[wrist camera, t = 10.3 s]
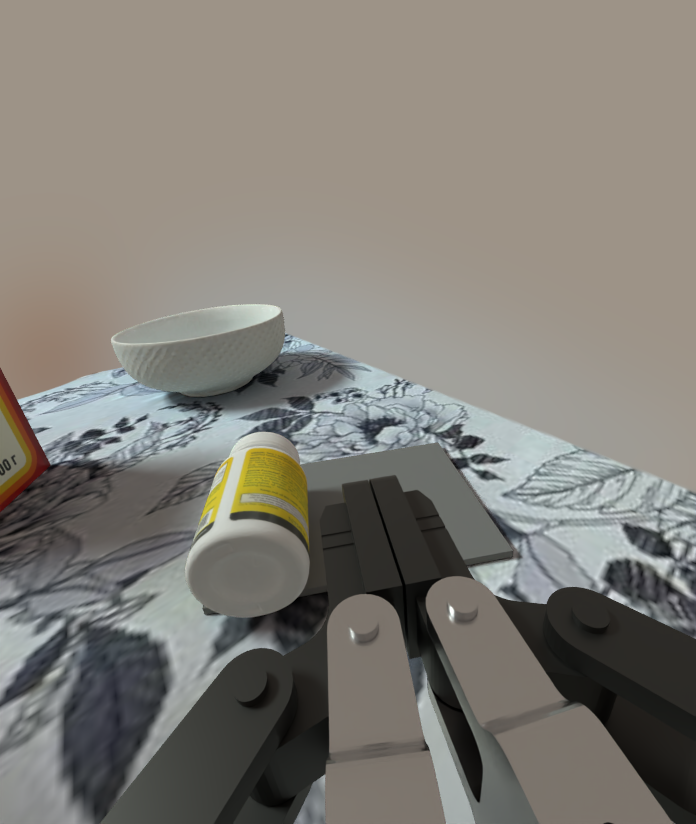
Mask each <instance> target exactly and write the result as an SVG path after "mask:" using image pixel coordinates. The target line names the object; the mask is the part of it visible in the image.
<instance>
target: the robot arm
mask: <svg viewBox="0 0 696 824" xmlns="http://www.w3.org/2000/svg"><path fill="white" fill-rule="evenodd" d="M342 492H343V499H344V503H339V504H333V505H328V506H325V509H324V511H323V513H322V516H321V518H320V529H321V537H322V546H323V555H324V564H325V573H326V582H327V590H328V599H329V610H328V615H327V618H326V621H325V623H324V625H323V626H322V628H321V629H320V631H319V632H318V633H317V634H316V635H315V636H314V637H313V638H312V639H311V640H310V641H308V642H307V643H305V644H304V645H302V646H300V647H298V648H297V649H295V650H293V651H291V652H289V653H288V654H286V655H284V656H283V655H281V654H280V653H279V652H277V651H274V650H272V649H267V648H258V649H253V650H249V651H246V652H244V653H242V654H240V655H239V656H237V657H236V658H234V659H233V660H232V661H231V662H230V663H228V664H227V665H226V667H225V668H224V669H223V670H222V671H221V672H220V674H219V675H218V676H217V677H216V679H215V680H214V681H213V682H212V684H211V685H210V686H209V687H208V689H207V690H206V691H205V692H204V694H203V695H202V696H201V697H200V699H199V700H198V701H197V702H196V704H195V705H194V706H193V707H192V709H191V710H190V711H189V712H188V714H187V715H186V716H185V717H184V719H183V720H182V721H181V722H180V724H179V725H178V726H177V727H176V729H175V730H174V731H173V733H172V734H171V735H170V736H169V738H168V739H167V740H166V741H165V743H164V744H163V745H162V746H161V748H160V749H159V750H158V751H157V753H156V754H155V755H154V756H153V758H152V759H151V760H150V761H149V763H148V764H147V765H146V766H145V768H144V769H143V770H142V771H141V773H140V774H139V775H138V776H137V778H136V779H135V780H134V781H133V783H132V784H131V785H130V786H129V788H128V789H127V790H126V791H125V793H124V794H123V795H122V796H121V798H120V799H119V800H118V801H117V803H116V804H115V805H114V806H113V808H112V809H111V810H110V811H109V813H108V814H107V815H106V816H105V818H104V819H103V820H102V821H101V823H100V824H293V823H294V821H295V819H296V817H297V815H298V813H299V811H300V809H301V807H302V805H303V803H304V801H305V799H306V797H307V795H308V793H309V791H310V788H311V786H312V783H313V782H314V781H316V780H317V779H319V778H320V777H321V776H323V775H324V774H326V775H325V810H326V824H446V821H445V816H444V812H443V807H442V802H441V797H440V793H439V788H438V783H437V779H436V774H435V770H434V765H433V761H432V757H431V754H430V750H429V747H428V745H427V744H426V742H425V739H424V735H423V731H422V726H421V722H420V717H419V712H418V707H417V702H416V697H415V692H414V687H413V683H412V678H411V673H410V668H409V663H408V658H407V653H406V648H407V652H408V655H409V659H412V658H417V657H422V661H423V664H424V667H425V670H426V673H427V687H428V694H429V697H430V700H431V703H432V705H433V708H434V711H435V713H436V716H437V719H438V721H439V724H440V726H441V729H442V732H443V734H444V737H445V740H446V742H447V745H448V748H449V750H450V753H451V756H452V758H453V761H454V763H455V766H456V769H457V771H458V774H459V777H460V779H461V782H462V785H463V787H464V790H465V792H466V795H467V798H468V800H469V803H470V806H471V809H472V813H473V816H474V820H475V824H673V823H672V821H673V822H674V823H675V824H696V639H694V638H692V637H690V636H688V635H686V634H684V633H682V632H680V631H678V630H675V629H673V628H671V627H669V626H667V625H665V624H663V623H661V622H659V621H656V620H654V619H652V618H650V617H648V616H646V615H644V614H642V613H640V612H638V611H635V610H633V609H631V608H629V607H627V606H625V605H623V604H621V603H619V602H616V601H614V600H612V599H610V598H608V597H606V596H604V595H602V594H600V593H597V592H595V591H592V590H589V589H585V588H579V587H567V588H562V589H559V590H557V591H555V592H554V593H553V594H552V595H551V596H550V597H549V599H548V601H547V604H537V603H528V602H518V601H511V600H507V599H503V598H500V597H498V596H495V595H494V594H493V593H492V592H491V591H490V590H489V589H488V588H487V587H486V586H484V585H483V584H482V583H480V582H478V581H476V580H475V579H474V578H473V576H472V575H471V573H470V571H469V570H468V568H467V566H466V564H465V562H464V560H463V558H462V556H461V555H460V553H459V551H458V549H457V547H456V545H455V543H454V541H453V540H452V538H451V536H450V534H449V532H448V530H447V529H446V528H445V525H444V523H443V521H442V519H441V517H439V513H438V512H437V510H436V508H435V506H434V504H433V502H432V500H430V499H429V498H428V497H427V496H425V495H424V494H423V493H421V492H420V491H419V490H413V491H407V492H403V490H402V487H401V485H400V483H399V481H398V478H397V476H396V475H390V476H384V477H379V478H373V479H369V481H368V480H361V481H356V482H350V483H344V484H342Z"/></svg>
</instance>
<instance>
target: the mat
mask: <svg viewBox="0 0 696 824" xmlns="http://www.w3.org/2000/svg"><path fill="white" fill-rule="evenodd" d="M301 467H302V468H303V470H304V473H305V476H306V480H307V493H308V525H309V556H310V566H309V576H308V580H307V583H306V585H305V587H304V589H303V591H302V592H301V594H300V595H299V596H298V597H301V596H307V595H312V594H317V593H323V592H328V590H327V582H326V573H325V564H324V555H323V546H322V537H321V529H320V518H321V516H322V513H323V511H324V509H325V506H328V505H333V504H339V503H344V499H343V492H342V484H344V483H350V482H356V481H361V480H368V481H369V479H373V478H379V477H384V476H390V475H396V476H397V478H398V481H399V483H400V485H401V487H402V490H403V492H407V491H413V490H419V491H420V492H421V493H423V494H424V495H425V496H427V497H428V498H429V499H430V500H432V502H433V504H434V506H435V508H436V510H437V512H438V513H439V517H441V519H442V521H443V523H444V525H445V528H446V529H447V530H448V532H449V534H450V536H451V538H452V540H453V541H454V543H455V545H456V547H457V549H458V551H459V553H460V555H461V556H462V558H463V560H464V562H465V564H466V565H472V564H477V563H482V562H488V561H493V560H498V559H504V558H509V557H512V556H513V550H512V548H511V547H510V545H509V544H508V542H507V541H506V540H505V538H504V537H503V535H502V534H501V532H500V531H499V529H498V528H497V527H496V525H495V524H494V522H493V521H492V519H491V518H490V517H489V515H488V514H487V512H486V511H485V509H484V508H483V506H482V505H481V504H480V502H479V501H478V499H477V498H476V496H475V495H474V494H473V492H472V491H471V489H470V488H469V486H468V485H467V483H466V482H465V481H464V479H463V478H462V476H461V475H460V473H459V472H458V471H457V469H456V468H455V466H454V465H453V463H452V462H451V460H450V459H449V458H448V456H447V455H446V453H445V452H444V450H443V449H442V448H441V446H440V445H439V443H432V444H426V445H420V446H413V447H407V448H401V449H395V450H388V451H382V452H376V453H370V454H363V455H357V456H351V457H345V458H339V459H332V460H326V461H320V462H314V463H307V464H301ZM203 611H204V614H205V615H206V614H211V613H216V612H215V611H213V610H211V609H209V608H207V607H206V606H204V605H203Z"/></svg>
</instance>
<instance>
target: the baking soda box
mask: <svg viewBox="0 0 696 824" xmlns="http://www.w3.org/2000/svg"><path fill="white" fill-rule="evenodd" d="M49 466H50V463H49V461H48V459H47V457H46V455H45V453H44V451H43V449H42V447H41V445H40V444H39V442H38V440H37V438H36V436H35V434H34V432H33V430H32V428H31V426H30V424H29V422H28V420H27V418H26V417H25V415H24V413H23V411H22V409H21V407H20V405H19V403H18V401H17V399H16V397H15V395H14V393H13V392H12V390H11V388H10V386H9V384H8V382H7V380H6V378H5V376H4V374H3V372H2V370H1V368H0V512H1V511H2V510H3V509H4V508H5V507H6V506H8V505H9V504H10V503H11V502H12V501H13V500H14V499H15V498H16V497H17V496H18V495H19V494H20V493H22V492H23V491H24V490H25V489H26V488H27V487H28V486H29V485H30V484H31V483H32V482H33V481H34V480H35V479H37V478H38V477H39V476H40V475H41V474H42V473H43V472H44V471H45V470H46V469H47V468H48V467H49Z"/></svg>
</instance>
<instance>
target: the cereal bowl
mask: <svg viewBox="0 0 696 824" xmlns="http://www.w3.org/2000/svg"><path fill="white" fill-rule="evenodd" d="M283 318H284V317H283V313H282V310H281V309H280V308H279V307H277V306H272V305H263V304H245V305H231V306H222V307H213V308H207V309H201V310H195V311H189V312H184V313H179V314H175V315H170V316H166V317H162V318H158V319H155V320H151V321H148V322H145V323H142V324H139V325H136V326H133V327H130V328H128V329H125V330H123V331H121V332H119V333H117V334H116V335H114V336H113V337H112V339H111V343H112V346H113V349H114V351H115V353H116V355H117V358H118V360H119V362H120V363H121V365H122V366H123V367H124V369H125V371H126V372H127V373H128V374H129V375H130V376H131V377H132V378H133V379H135V380H137V381H138V382H139V383H141V384H143V385H145V386H147V387H150V388H153V389H156V390H161V391H167V392H170V391H171V392H180V393H181V394H183V395H185V396H191V397H206V396H213V395H218V394H223V393H227V392H230V391H233V390H236V389H238V388H240V387H242V386H244V385H246V384H247V383H248V382H250V381H251V379H252V378H253V376H255V375H256V374H258V373H260V372H261V371H263V370H264V369H265V368H267V367H268V366H269V365H270V364H272V362H273V361H275V359H276V358H277V357H278V356H279V354H280V352H281V349H282V347H283V344H284V338H285V327H284V319H283Z"/></svg>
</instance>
